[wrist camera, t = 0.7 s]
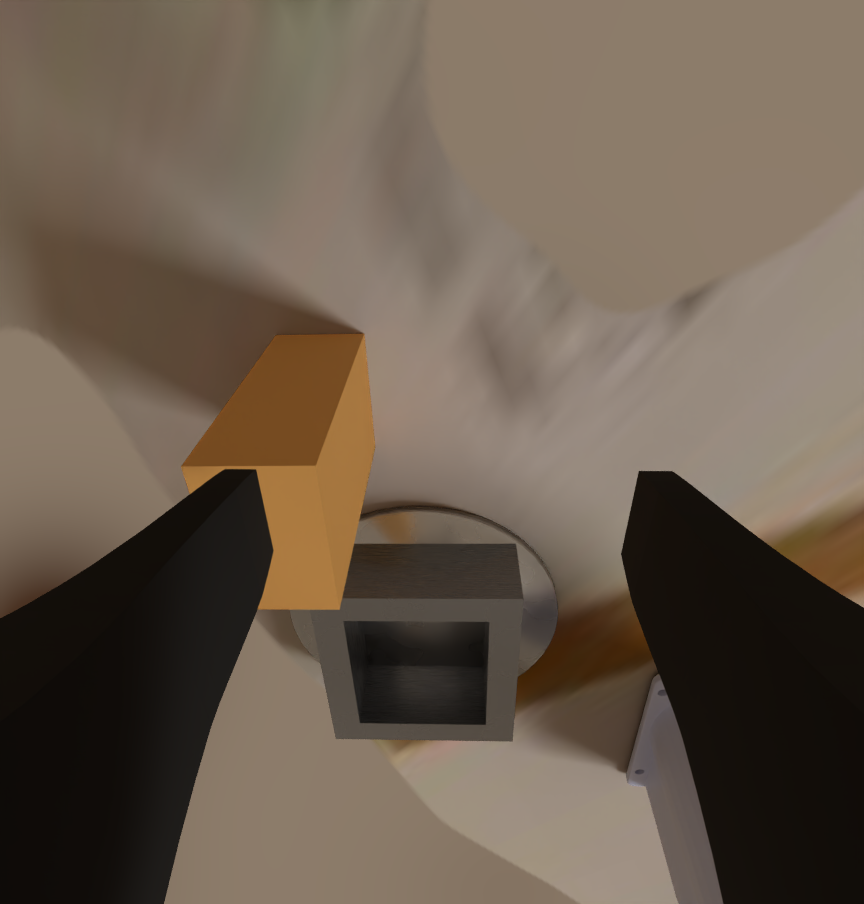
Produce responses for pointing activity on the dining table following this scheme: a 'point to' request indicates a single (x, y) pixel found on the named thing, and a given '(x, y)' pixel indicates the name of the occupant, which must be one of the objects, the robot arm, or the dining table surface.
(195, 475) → the rectangular block
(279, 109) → the dining table surface
